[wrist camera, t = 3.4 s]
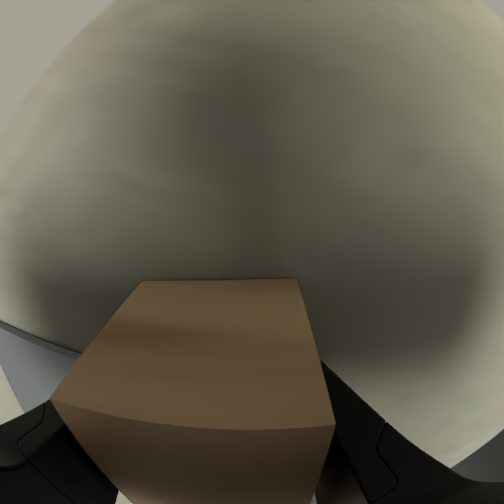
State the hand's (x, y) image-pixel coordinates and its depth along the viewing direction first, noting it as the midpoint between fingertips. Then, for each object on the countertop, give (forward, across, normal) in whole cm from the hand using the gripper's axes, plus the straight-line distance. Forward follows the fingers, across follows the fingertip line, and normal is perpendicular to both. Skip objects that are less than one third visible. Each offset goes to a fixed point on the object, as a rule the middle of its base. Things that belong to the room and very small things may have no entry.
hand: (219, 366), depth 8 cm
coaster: (+1, +9, +4) cm, 10 cm away
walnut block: (+1, 0, 0) cm, 1 cm away
